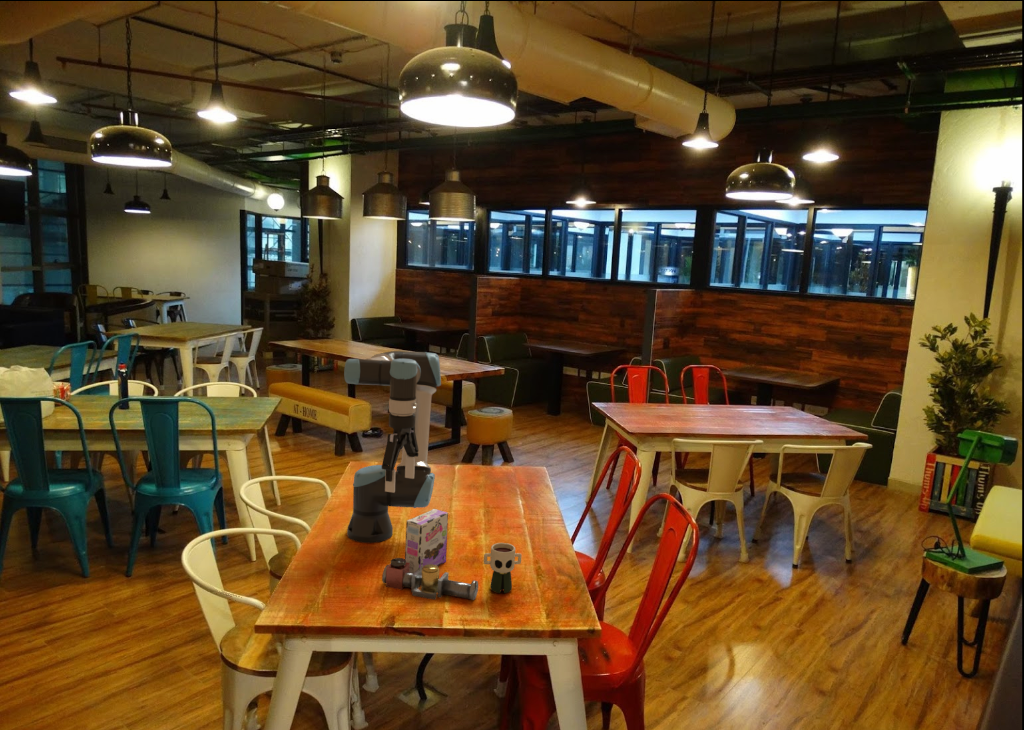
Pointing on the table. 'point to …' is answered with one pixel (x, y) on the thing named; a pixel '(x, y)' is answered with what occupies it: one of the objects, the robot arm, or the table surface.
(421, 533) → the candy box
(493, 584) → the character mug
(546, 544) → the table surface
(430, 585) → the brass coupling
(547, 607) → the table surface
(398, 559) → the pipe run
